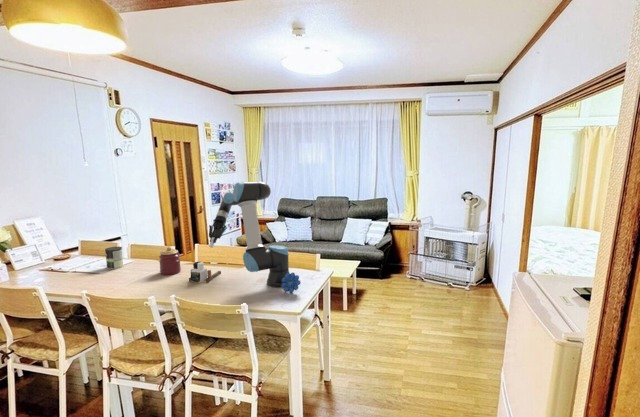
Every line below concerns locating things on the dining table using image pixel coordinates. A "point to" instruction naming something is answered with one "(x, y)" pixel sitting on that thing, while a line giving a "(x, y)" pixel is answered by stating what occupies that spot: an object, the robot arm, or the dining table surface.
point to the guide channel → (209, 275)
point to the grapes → (290, 282)
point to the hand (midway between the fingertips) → (210, 246)
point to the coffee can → (114, 257)
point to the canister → (169, 262)
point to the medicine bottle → (198, 273)
